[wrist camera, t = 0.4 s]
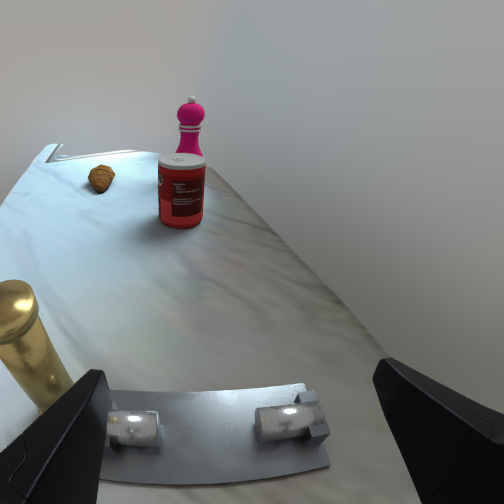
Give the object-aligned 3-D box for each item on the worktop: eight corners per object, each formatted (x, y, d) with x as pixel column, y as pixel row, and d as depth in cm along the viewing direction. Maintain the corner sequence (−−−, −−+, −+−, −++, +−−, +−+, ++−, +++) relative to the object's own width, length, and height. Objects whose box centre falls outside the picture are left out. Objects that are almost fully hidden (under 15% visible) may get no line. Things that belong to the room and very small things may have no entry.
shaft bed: (302, 384, 27) (311, 365, 25) (329, 465, 20) (343, 454, 18) (104, 390, 23) (94, 371, 21) (97, 478, 16) (82, 468, 14)
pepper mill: (173, 175, 70) (177, 94, 59) (202, 176, 72) (209, 95, 61) (170, 186, 64) (173, 96, 54) (202, 187, 66) (209, 98, 55)
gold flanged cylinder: (79, 437, 18) (8, 343, 11) (35, 419, 18) (-39, 321, 11) (94, 393, 23) (46, 286, 16) (52, 379, 22) (-1, 274, 15)
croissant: (91, 177, 67) (89, 158, 64) (116, 174, 69) (115, 155, 67) (86, 197, 57) (83, 175, 54) (115, 193, 59) (114, 171, 57)
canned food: (174, 205, 56) (176, 150, 50) (210, 216, 54) (214, 157, 48) (149, 221, 50) (148, 160, 44) (187, 234, 48) (189, 169, 42)
